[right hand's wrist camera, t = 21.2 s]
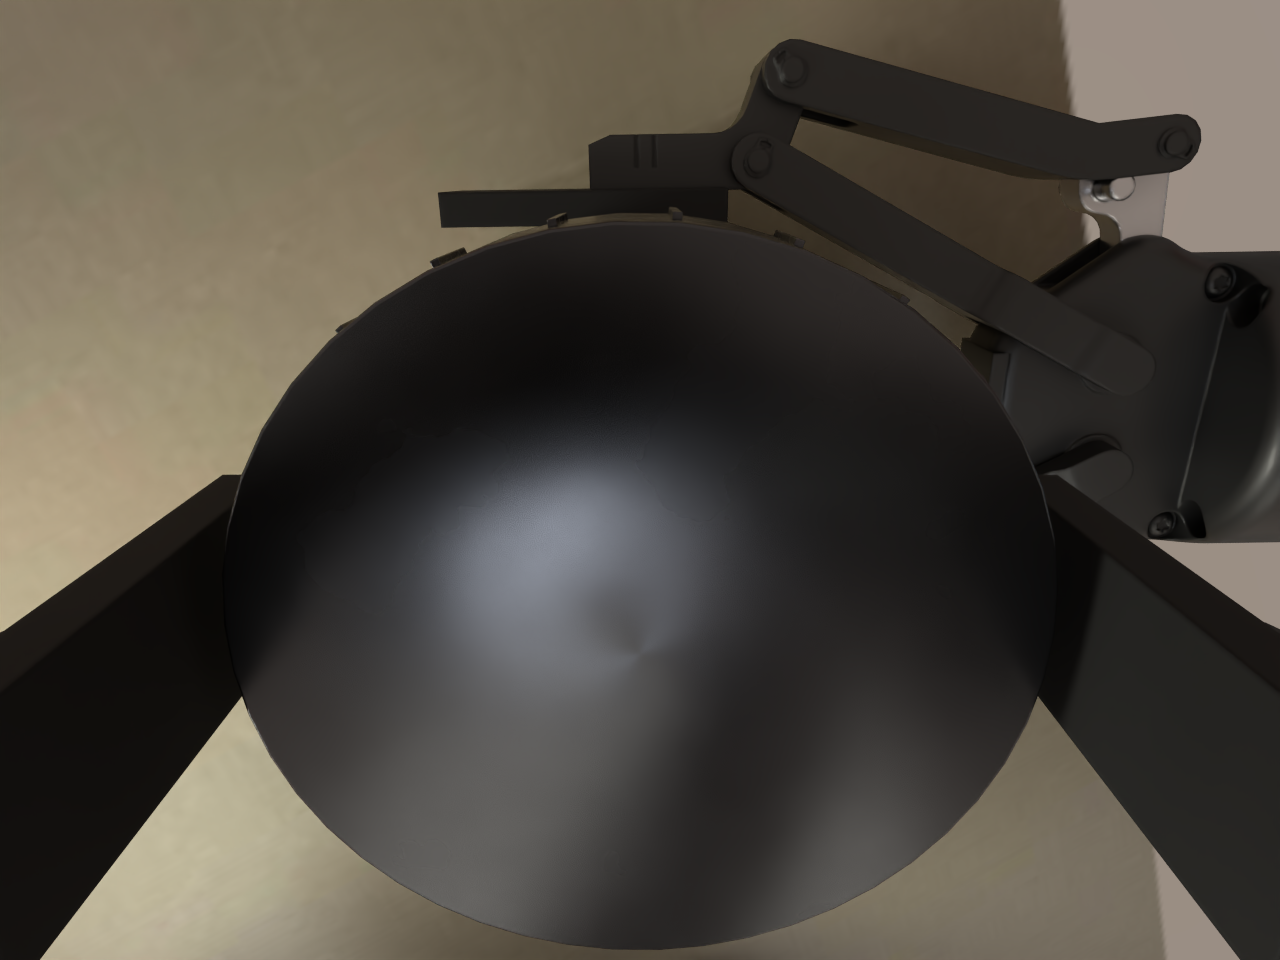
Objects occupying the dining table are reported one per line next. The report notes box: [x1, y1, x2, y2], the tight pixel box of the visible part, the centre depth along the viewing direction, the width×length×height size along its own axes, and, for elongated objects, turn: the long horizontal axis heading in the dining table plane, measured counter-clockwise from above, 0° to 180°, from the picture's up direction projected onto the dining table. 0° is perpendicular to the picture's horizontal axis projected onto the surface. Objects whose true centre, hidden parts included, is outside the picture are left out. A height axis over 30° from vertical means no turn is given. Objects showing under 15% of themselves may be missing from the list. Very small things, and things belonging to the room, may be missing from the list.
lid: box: [222, 207, 1058, 950], centre depth 11 cm, size 11×11×2 cm
